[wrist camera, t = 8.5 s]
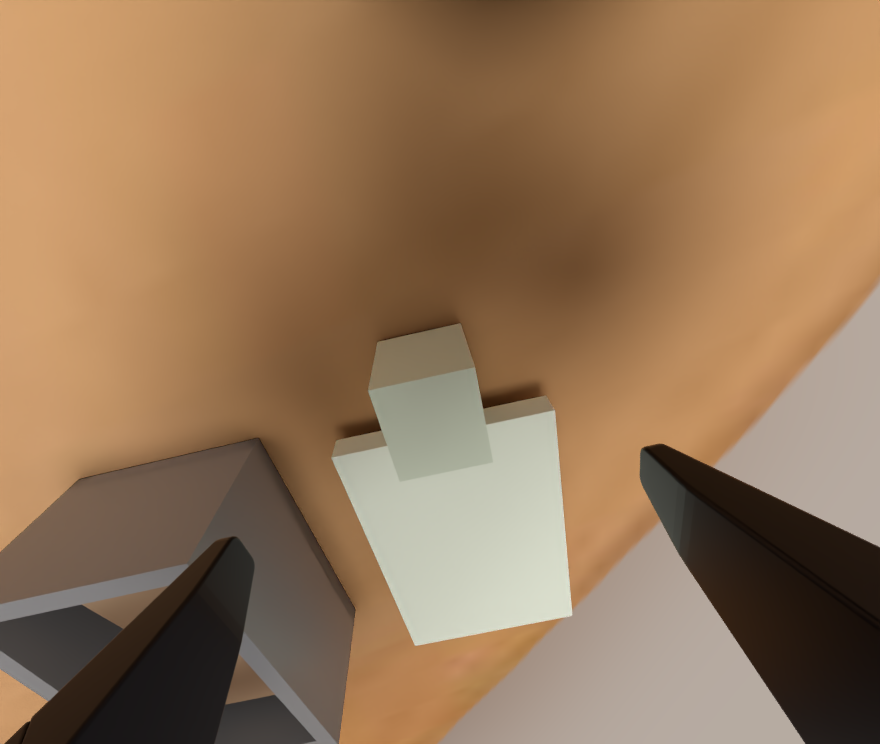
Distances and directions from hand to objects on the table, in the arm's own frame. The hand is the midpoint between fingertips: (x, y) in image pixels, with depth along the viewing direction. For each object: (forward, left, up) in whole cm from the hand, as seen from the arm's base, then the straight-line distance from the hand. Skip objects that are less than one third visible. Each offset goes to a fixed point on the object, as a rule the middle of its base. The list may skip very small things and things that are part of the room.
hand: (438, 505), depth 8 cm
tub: (-10, +13, -9) cm, 19 cm away
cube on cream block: (-9, 0, -9) cm, 13 cm away
